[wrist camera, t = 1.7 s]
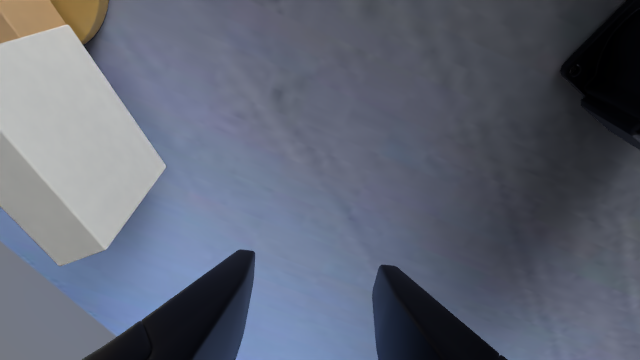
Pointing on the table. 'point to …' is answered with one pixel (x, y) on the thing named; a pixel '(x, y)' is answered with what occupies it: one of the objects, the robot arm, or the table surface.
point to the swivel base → (82, 16)
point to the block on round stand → (65, 138)
